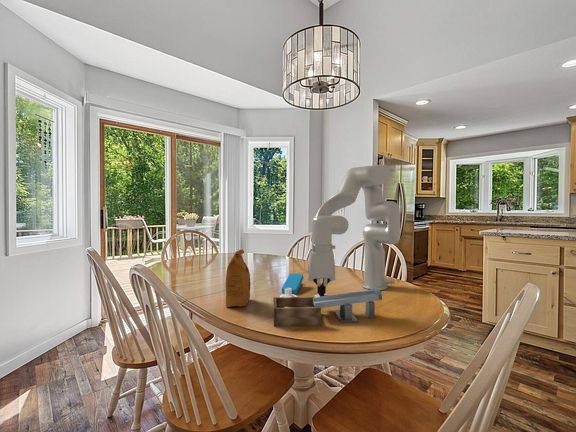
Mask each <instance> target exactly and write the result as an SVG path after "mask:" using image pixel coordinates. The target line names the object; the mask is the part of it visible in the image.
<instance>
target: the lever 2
mask: <svg viewBox="0 0 576 432" xmlns="http://www.w3.org/2000/svg"><path fill="white" fill-rule="evenodd" d="M313 297H314V298H313V304H314V306H315V307H321V309H323V308H331V307H338V306H339V307H340V305H345V304H352V305H354V304H360V303H366V302H369V301H373V302H375V301H382V300H383V294H382V290H379V289H378V288H376V287H372V290H370V289H366V290H361V291H353V292H346V293H337V294H331V295H329V294H328V293H327V292H326V294H324V296H321V297H320V296H319V294H314V296H313Z"/></svg>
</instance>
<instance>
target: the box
mask: <svg viewBox="0 0 576 432" xmlns="http://www.w3.org/2000/svg"><path fill="white" fill-rule="evenodd" d="M314 297H315V296H297V297H295V296H292V297H284V296H282V297H280V296H278V297H277V296H276V297H274V296H273V299H272V300H273V302H272V303H273V327H298V326H299V327H303V326H307V327H308V326H309V327H311V326H312V327H313V326H322V308H321V307H315V306H314V304H313V298H314ZM284 307H288V308H284Z"/></svg>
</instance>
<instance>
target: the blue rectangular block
mask: <svg viewBox="0 0 576 432" xmlns="http://www.w3.org/2000/svg"><path fill="white" fill-rule="evenodd" d="M303 280H304V273H293V272H292V273H288V276H287V278H286V280H285V282H284V283H283V284H282V287H281V293H282V294H285V288H292V293H291V294H294V295H297V294H298V291H299V290H300V287H301V285H302V283H303Z"/></svg>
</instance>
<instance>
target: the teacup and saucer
mask: <svg viewBox="0 0 576 432" xmlns="http://www.w3.org/2000/svg"><path fill="white" fill-rule="evenodd" d="M291 293H292V288H285V293H282V294H281V295H279V297H298V296H297V294H291Z"/></svg>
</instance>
